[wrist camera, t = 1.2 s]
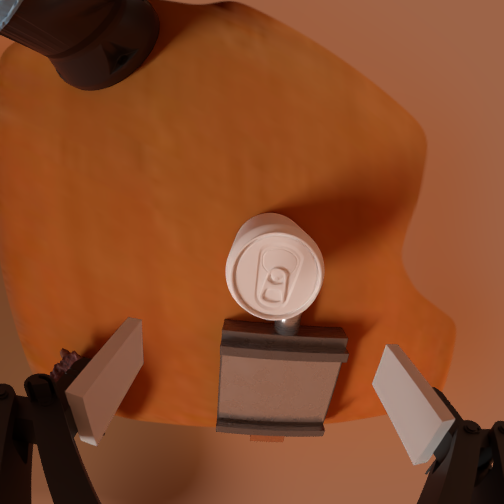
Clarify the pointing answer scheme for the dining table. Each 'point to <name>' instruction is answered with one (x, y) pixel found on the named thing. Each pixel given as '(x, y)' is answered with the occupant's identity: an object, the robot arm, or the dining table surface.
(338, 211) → the dining table surface
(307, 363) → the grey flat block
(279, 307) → the beverage can
